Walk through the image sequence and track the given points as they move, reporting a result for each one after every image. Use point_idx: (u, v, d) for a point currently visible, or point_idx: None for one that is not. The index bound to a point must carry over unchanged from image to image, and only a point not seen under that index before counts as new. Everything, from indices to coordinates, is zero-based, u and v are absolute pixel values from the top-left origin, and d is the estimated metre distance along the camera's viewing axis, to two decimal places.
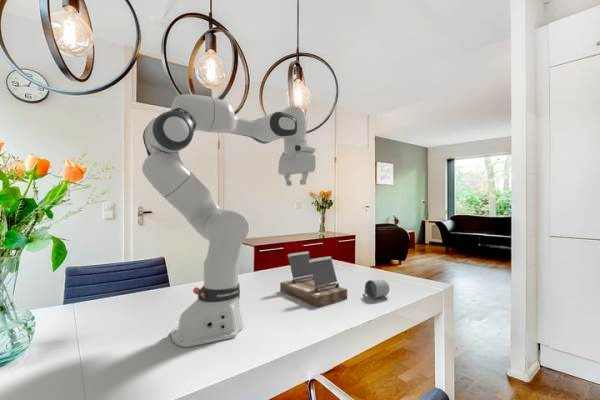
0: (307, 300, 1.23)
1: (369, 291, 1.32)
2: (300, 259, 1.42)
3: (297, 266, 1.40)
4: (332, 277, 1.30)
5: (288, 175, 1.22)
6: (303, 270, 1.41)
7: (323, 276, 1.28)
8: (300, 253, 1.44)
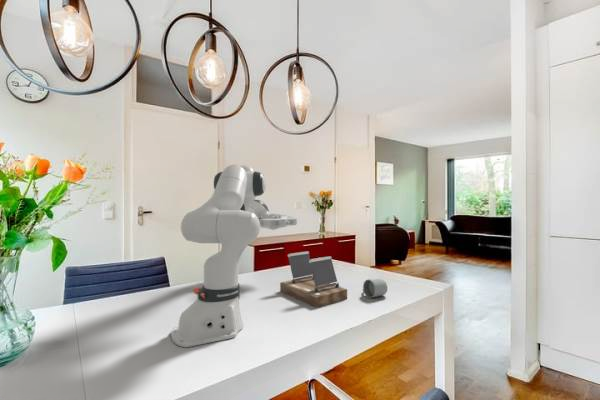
0: (307, 300, 1.23)
1: (367, 290, 1.33)
2: (300, 259, 1.42)
3: (297, 266, 1.40)
4: (332, 277, 1.30)
5: None
6: (303, 270, 1.41)
7: (323, 276, 1.28)
8: (300, 253, 1.44)
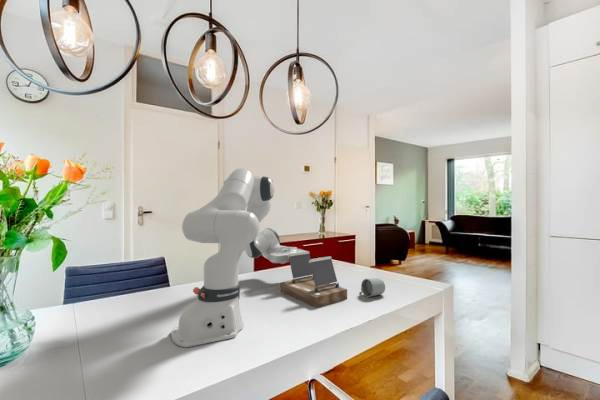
0: (307, 300, 1.23)
1: (365, 289, 1.34)
2: (300, 259, 1.42)
3: (297, 266, 1.40)
4: (332, 277, 1.30)
5: None
6: (303, 270, 1.41)
7: (323, 276, 1.28)
8: (300, 253, 1.43)
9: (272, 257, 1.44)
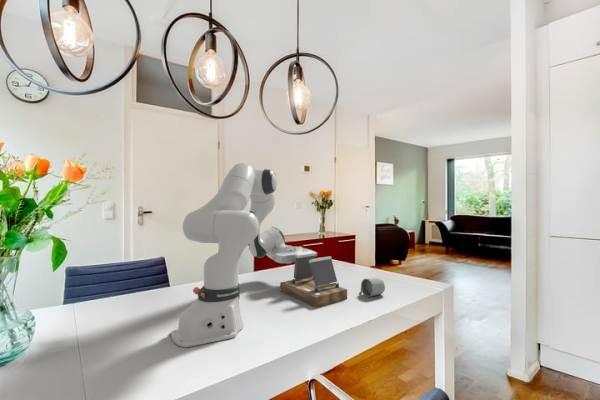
0: (307, 300, 1.23)
1: (365, 289, 1.34)
2: (306, 261, 1.39)
3: (301, 268, 1.38)
4: (332, 277, 1.30)
5: None
6: (305, 271, 1.40)
7: (323, 276, 1.28)
8: (308, 255, 1.39)
9: (278, 257, 1.40)
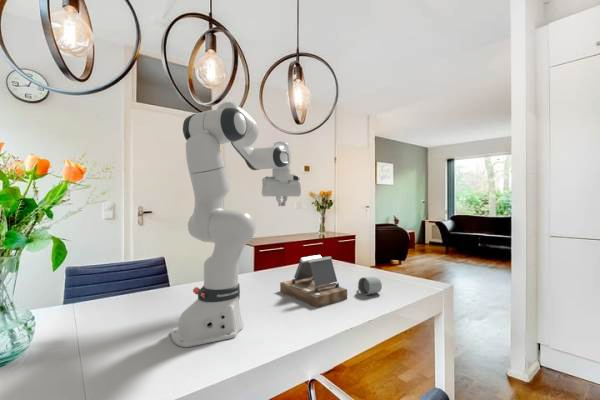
0: (307, 300, 1.23)
1: (362, 288, 1.37)
2: None
3: (303, 271, 1.36)
4: (332, 277, 1.30)
5: None
6: (307, 273, 1.39)
7: (323, 276, 1.28)
8: None
9: (264, 190, 1.36)
